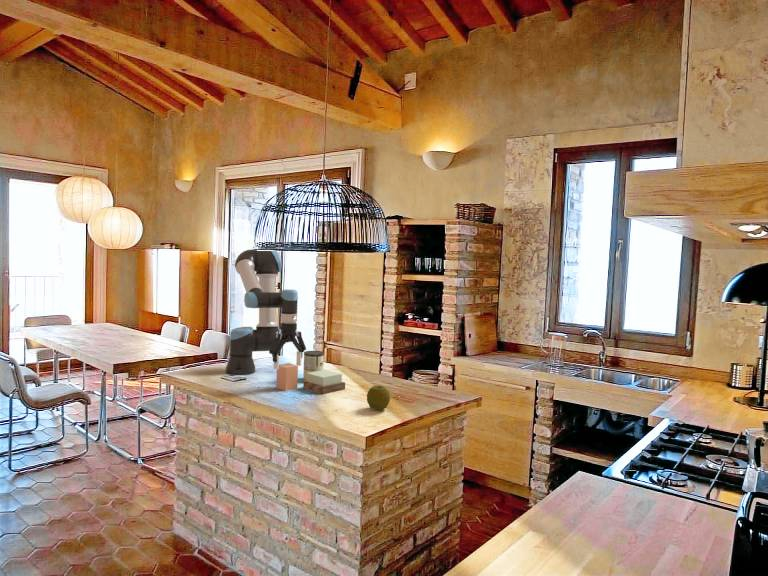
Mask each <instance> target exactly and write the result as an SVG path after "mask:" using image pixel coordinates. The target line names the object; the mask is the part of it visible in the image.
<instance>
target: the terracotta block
mask: <svg viewBox="0 0 768 576" xmlns="http://www.w3.org/2000/svg"><path fill="white" fill-rule="evenodd" d="M298 372H299V365H296V364H293V363H289V362H288V363H280V364H279V369H276V382H275V383H276V384H275V385H276V388H275V389H278V390H281V391H285V392H286V391H291V390H292V391H293V390H296V389H298V380H299V379H298V377H299V375H298V374H299V373H298Z"/></svg>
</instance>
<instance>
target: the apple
mask: <svg viewBox="0 0 768 576" xmlns="http://www.w3.org/2000/svg"><path fill="white" fill-rule="evenodd" d="M390 400H391V395H390V391H389V390H388V388H386V387H385V386H383V385H373V386H372V387H371V388H369V389H368V391H367V393H366V401H367V403H368V406H369V408H370V409H373V411H383V410H385V409H386V408H387V407H388V406H389V404H390Z"/></svg>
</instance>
